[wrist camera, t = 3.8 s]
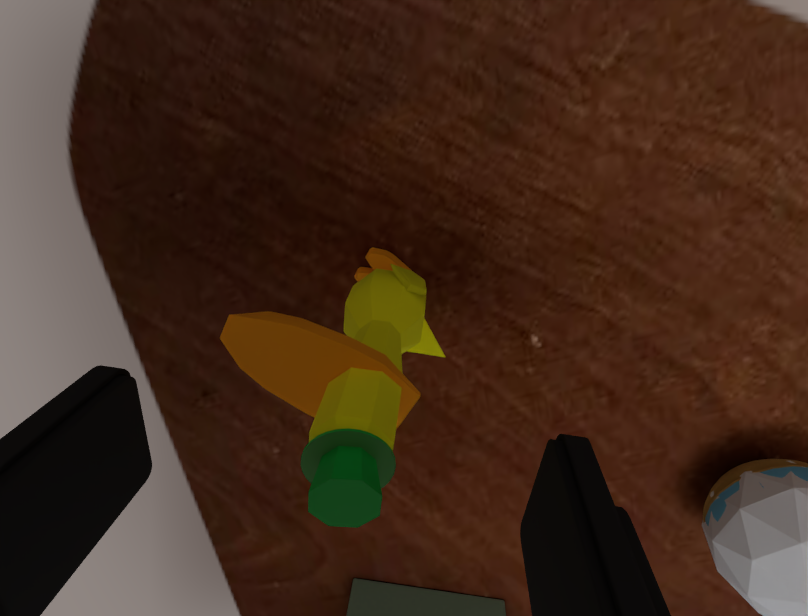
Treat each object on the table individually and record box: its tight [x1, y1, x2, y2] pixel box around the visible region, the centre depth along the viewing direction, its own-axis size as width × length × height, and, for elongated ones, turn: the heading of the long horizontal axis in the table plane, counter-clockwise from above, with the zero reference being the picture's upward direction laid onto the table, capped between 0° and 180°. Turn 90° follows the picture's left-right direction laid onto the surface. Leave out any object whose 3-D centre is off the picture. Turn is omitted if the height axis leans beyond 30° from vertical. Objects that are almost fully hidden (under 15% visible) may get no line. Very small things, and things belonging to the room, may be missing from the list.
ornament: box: [702, 459, 808, 616], centre depth 20 cm, size 7×7×8 cm
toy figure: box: [220, 247, 445, 528], centre depth 14 cm, size 7×4×12 cm, turn 61°
